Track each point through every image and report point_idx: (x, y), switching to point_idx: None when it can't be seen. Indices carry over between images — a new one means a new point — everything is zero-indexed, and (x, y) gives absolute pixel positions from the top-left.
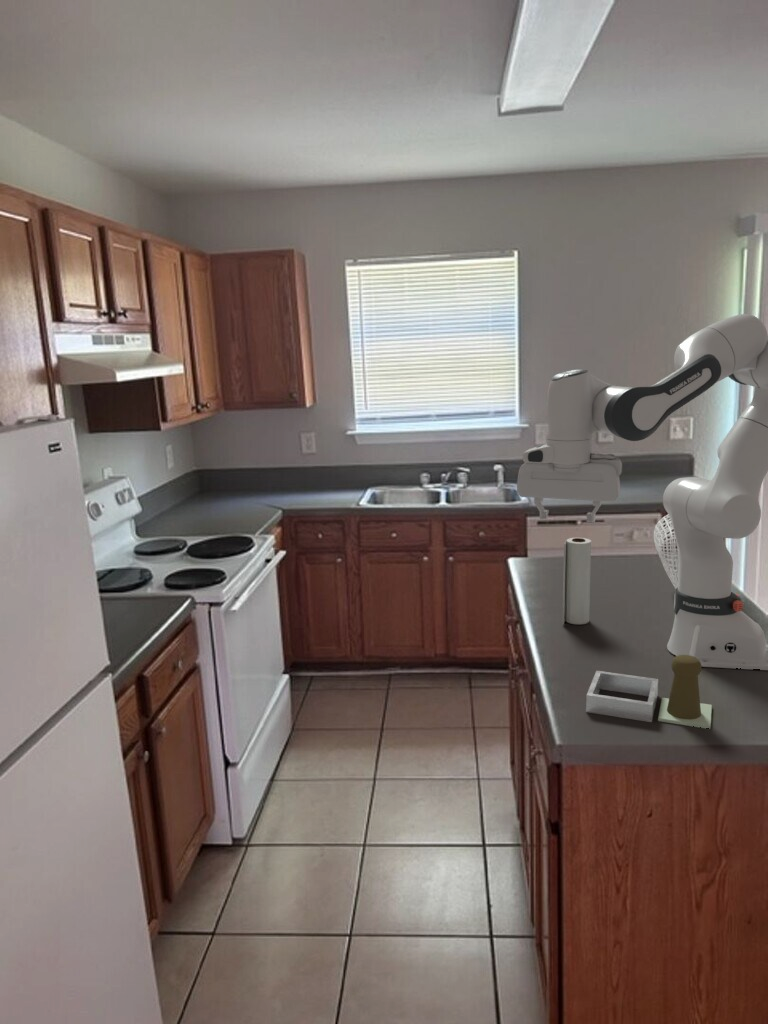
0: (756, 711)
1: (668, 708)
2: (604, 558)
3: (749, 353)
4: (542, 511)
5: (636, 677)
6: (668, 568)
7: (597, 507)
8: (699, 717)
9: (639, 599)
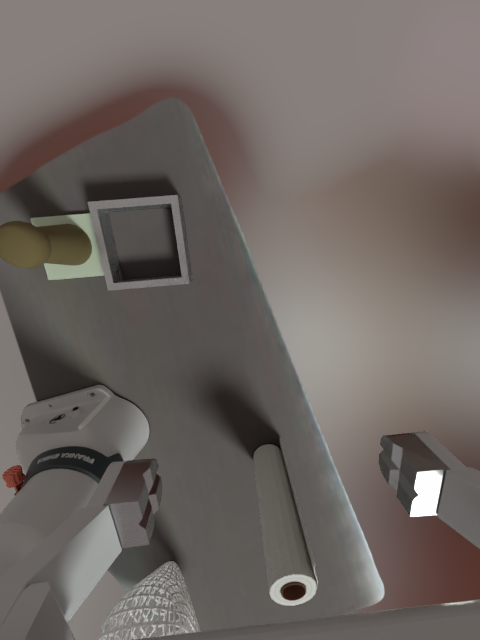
0: (4, 292)
1: (84, 235)
2: None
3: None
4: (446, 468)
5: (134, 283)
6: (174, 593)
7: (17, 570)
8: None
9: (216, 538)
